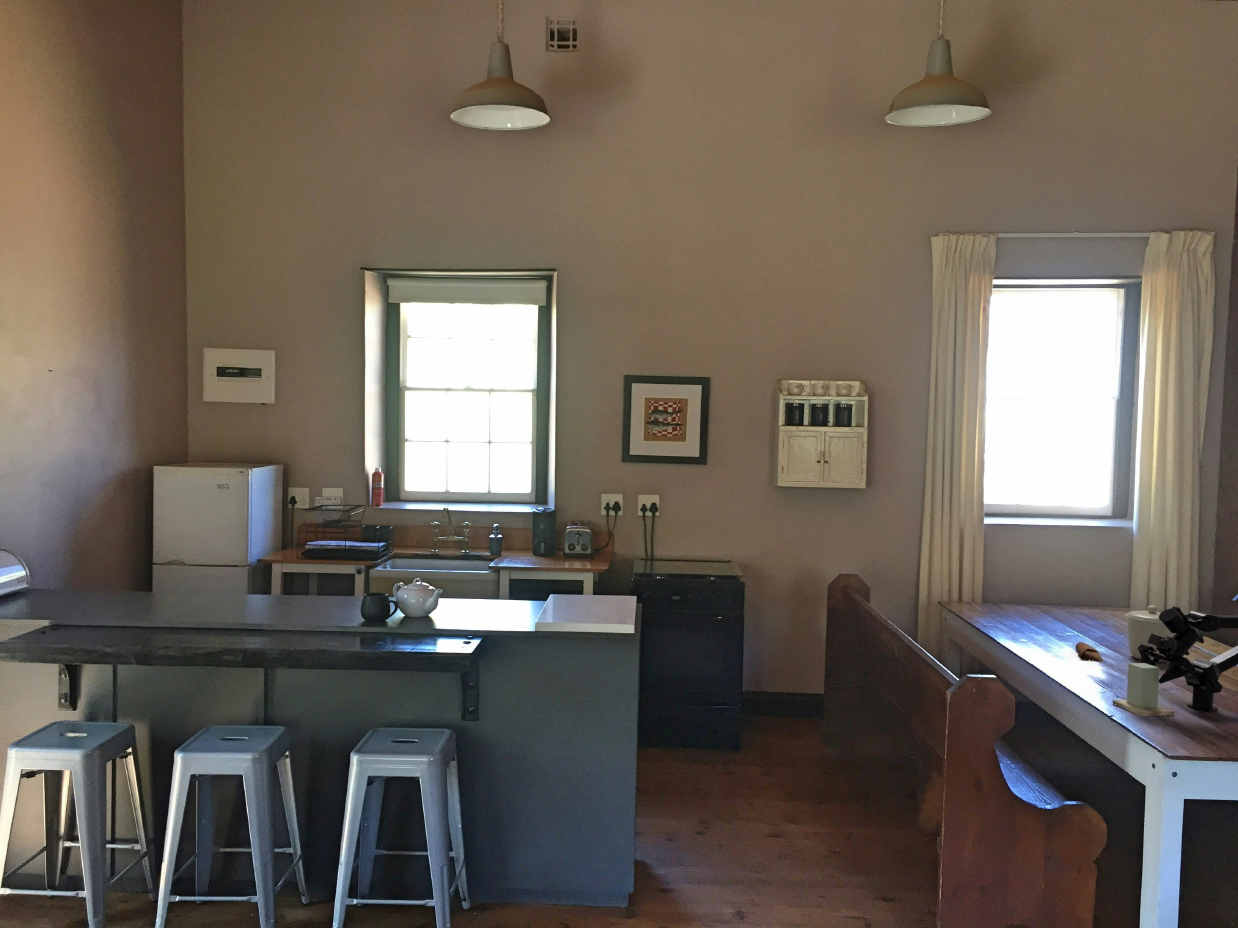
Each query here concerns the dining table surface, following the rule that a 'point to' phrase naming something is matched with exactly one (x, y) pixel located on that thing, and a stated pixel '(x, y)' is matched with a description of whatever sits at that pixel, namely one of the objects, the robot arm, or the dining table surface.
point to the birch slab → (1144, 709)
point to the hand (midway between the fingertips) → (1148, 678)
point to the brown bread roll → (1088, 652)
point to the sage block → (1142, 685)
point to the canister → (1144, 629)
